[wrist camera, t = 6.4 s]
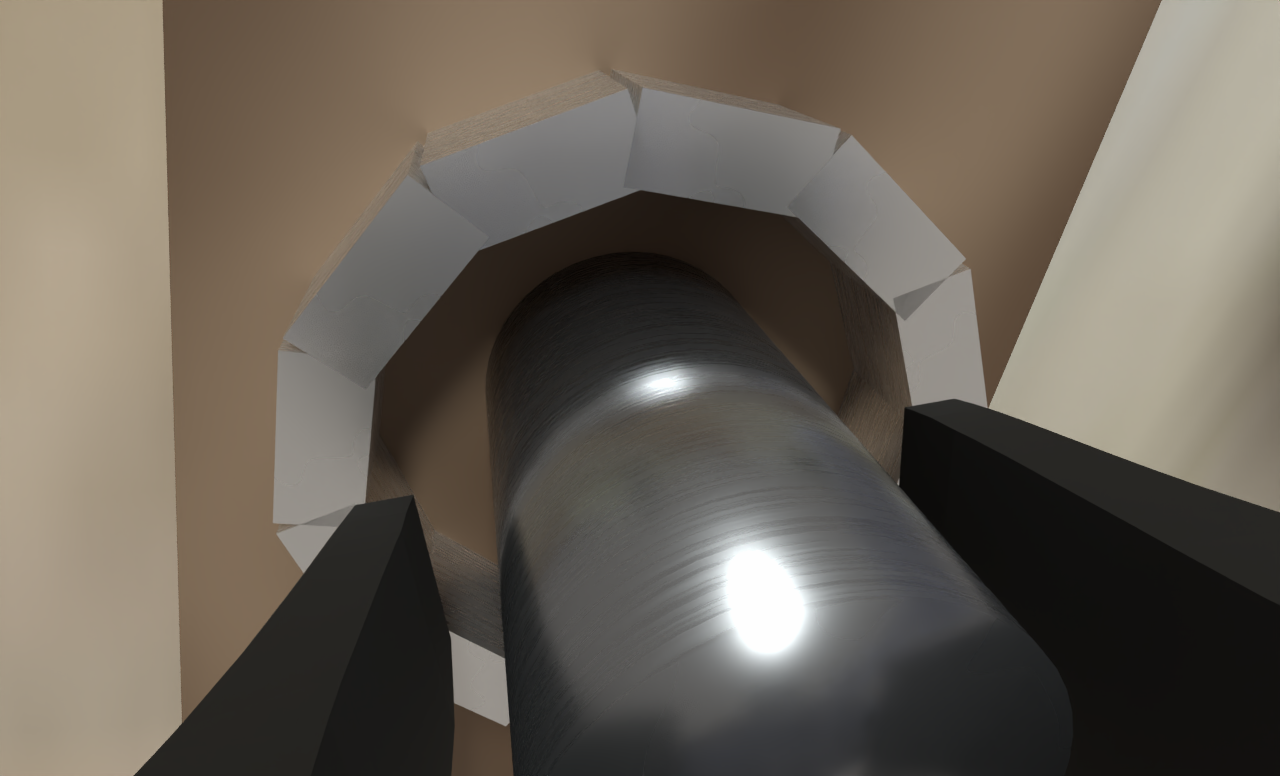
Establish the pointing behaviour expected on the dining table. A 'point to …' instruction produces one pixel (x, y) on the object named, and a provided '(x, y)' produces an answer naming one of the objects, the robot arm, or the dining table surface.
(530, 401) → the cylinder
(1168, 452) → the dining table surface
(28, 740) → the dining table surface
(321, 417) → the collar board
